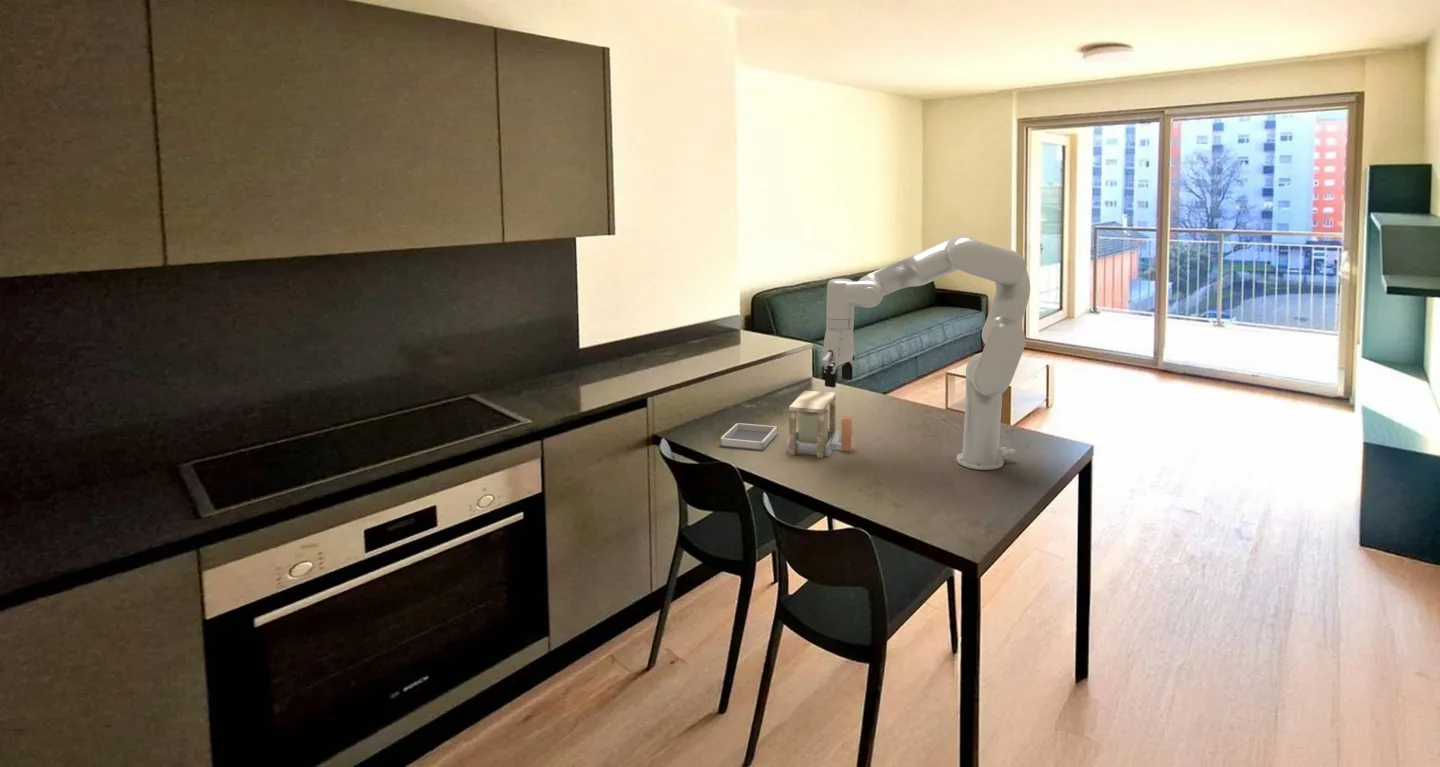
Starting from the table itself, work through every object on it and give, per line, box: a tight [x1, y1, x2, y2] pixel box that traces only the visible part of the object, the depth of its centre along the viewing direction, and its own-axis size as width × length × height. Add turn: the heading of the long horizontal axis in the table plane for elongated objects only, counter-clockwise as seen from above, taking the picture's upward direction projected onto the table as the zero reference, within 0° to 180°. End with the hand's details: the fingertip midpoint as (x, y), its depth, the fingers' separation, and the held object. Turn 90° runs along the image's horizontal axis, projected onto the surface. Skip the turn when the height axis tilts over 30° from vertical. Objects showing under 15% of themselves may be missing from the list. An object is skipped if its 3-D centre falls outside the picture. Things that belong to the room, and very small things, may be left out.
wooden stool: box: [788, 390, 837, 459], centre depth 225 cm, size 10×18×15 cm, turn 159°
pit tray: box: [719, 422, 779, 452], centre depth 234 cm, size 14×16×3 cm
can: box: [797, 408, 829, 444], centre depth 225 cm, size 9×9×12 cm
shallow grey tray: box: [785, 415, 854, 457], centre depth 225 cm, size 18×14×10 cm
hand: (838, 382), depth 211 cm, fingers open, 9 cm apart
